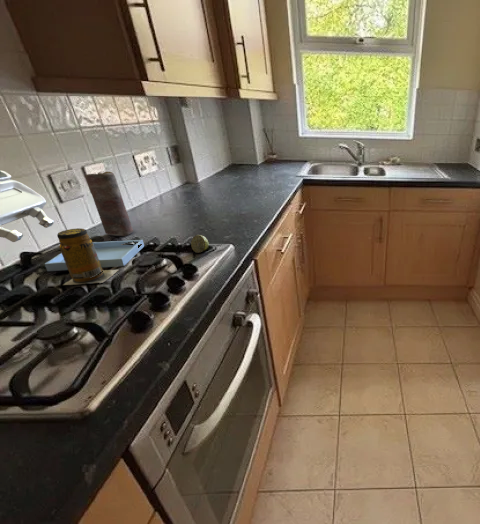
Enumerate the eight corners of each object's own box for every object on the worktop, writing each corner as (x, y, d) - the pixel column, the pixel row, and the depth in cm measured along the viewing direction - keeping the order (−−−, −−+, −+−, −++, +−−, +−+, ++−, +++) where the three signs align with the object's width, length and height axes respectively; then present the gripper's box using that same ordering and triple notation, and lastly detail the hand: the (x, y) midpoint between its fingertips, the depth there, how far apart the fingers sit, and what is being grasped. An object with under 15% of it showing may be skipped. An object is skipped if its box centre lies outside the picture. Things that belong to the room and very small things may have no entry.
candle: (102, 239, 104) (80, 174, 96) (108, 231, 110) (88, 170, 102) (131, 236, 107) (112, 173, 99) (135, 229, 113) (118, 169, 105)
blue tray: (47, 271, 84) (44, 263, 83) (78, 250, 96) (75, 243, 95) (124, 266, 87) (121, 258, 86) (144, 246, 100) (142, 239, 99)
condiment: (82, 272, 84) (64, 227, 79) (119, 270, 85) (104, 225, 80) (63, 285, 77) (42, 237, 72) (103, 283, 78) (86, 236, 73)
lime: (209, 253, 96) (205, 237, 94) (190, 254, 95) (187, 238, 93) (211, 247, 100) (208, 232, 98) (193, 249, 99) (190, 233, 96)
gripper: (-85, 188, 58) (4, 237, 64) (10, 169, 77) (72, 209, 82) (-100, 213, 60) (-12, 260, 65) (-3, 189, 78) (59, 227, 83)
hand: (35, 231), depth 74 cm, fingers open, 8 cm apart
